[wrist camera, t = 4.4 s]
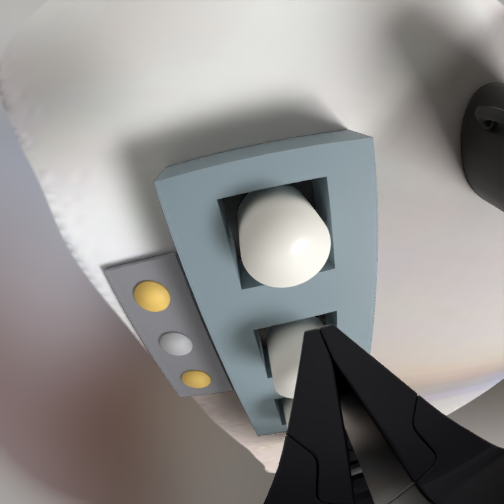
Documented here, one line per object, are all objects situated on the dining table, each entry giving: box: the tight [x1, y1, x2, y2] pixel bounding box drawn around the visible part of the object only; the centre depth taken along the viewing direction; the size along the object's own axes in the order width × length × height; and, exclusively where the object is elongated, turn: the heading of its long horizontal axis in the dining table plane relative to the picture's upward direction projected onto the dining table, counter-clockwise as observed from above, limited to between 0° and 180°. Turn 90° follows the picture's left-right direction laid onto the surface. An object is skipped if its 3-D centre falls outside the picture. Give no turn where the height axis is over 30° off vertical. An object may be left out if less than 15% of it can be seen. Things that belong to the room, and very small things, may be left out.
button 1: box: [237, 184, 331, 288], centre depth 14 cm, size 4×4×4 cm
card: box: [104, 252, 233, 397], centre depth 20 cm, size 14×5×1 cm, turn 12°
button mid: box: [267, 316, 325, 398], centre depth 17 cm, size 4×4×4 cm
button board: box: [153, 130, 378, 436], centre depth 19 cm, size 24×10×3 cm, turn 12°
